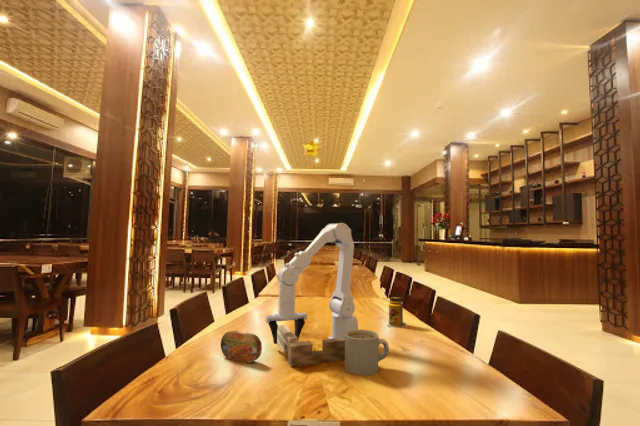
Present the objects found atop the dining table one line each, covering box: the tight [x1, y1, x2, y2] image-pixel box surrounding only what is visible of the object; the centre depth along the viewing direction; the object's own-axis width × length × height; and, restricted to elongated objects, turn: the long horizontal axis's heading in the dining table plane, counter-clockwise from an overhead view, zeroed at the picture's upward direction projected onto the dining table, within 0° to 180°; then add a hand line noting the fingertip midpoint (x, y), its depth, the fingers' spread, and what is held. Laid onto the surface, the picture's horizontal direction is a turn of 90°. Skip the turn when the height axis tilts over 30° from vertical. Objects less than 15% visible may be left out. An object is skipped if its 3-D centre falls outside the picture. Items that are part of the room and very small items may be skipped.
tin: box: [220, 330, 263, 364], centre depth 102 cm, size 15×3×8 cm, turn 62°
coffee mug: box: [344, 328, 390, 377], centre depth 97 cm, size 13×10×10 cm
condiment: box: [386, 296, 406, 328], centre depth 145 cm, size 7×8×12 cm
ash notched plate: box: [276, 324, 299, 353], centre depth 112 cm, size 3×16×6 cm, turn 22°
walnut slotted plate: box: [287, 338, 345, 368], centre depth 101 cm, size 18×3×6 cm, turn 112°
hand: (286, 341), depth 112 cm, fingers open, 7 cm apart
